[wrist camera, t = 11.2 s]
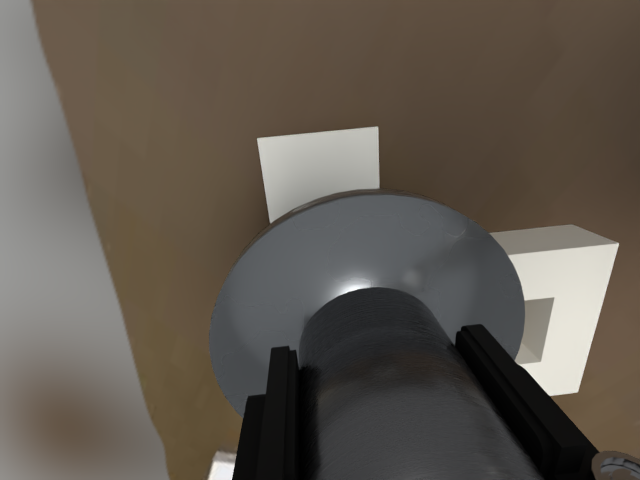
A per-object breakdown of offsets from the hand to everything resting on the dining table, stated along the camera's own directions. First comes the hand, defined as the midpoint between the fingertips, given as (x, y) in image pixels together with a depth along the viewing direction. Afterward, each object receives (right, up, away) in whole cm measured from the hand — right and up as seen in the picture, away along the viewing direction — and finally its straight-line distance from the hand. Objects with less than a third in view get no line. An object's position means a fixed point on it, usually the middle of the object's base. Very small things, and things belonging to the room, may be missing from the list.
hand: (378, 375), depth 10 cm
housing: (+19, -4, +31) cm, 37 cm away
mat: (-2, +10, +24) cm, 26 cm away
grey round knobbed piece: (-1, +3, +8) cm, 8 cm away
